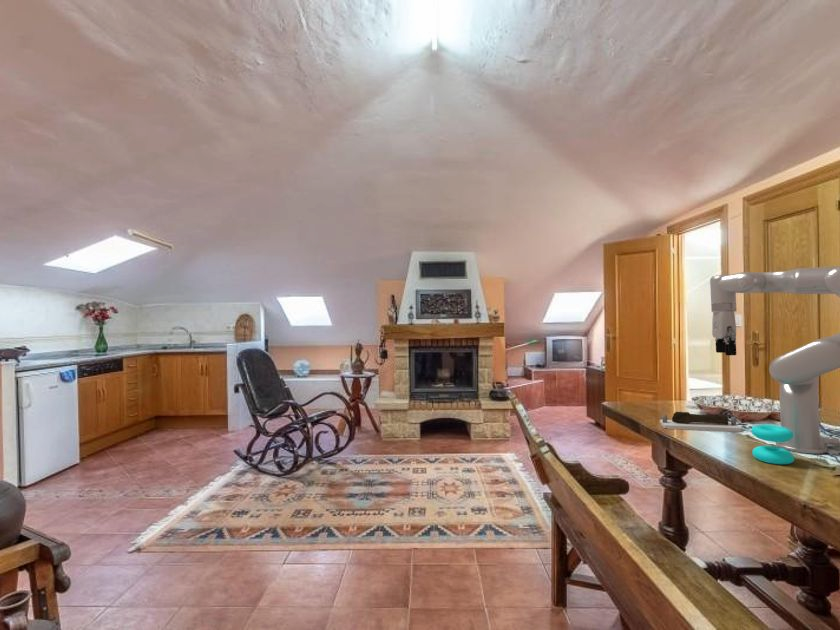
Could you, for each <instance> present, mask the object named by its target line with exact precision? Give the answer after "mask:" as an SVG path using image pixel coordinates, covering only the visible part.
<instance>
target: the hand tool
mask: <svg viewBox="0 0 840 630" xmlns="http://www.w3.org/2000/svg"><path fill="white" fill-rule="evenodd" d="M672 415H673V416H672V417H671V420H672V422H676V423H684V424H689V423H692V422H694V423H695V422H696V423H718V424H726V425H728V422H729V417H728V415H727V414H724V413H723V414H713V413H711V414H700V413H699V414H697V413H690V412H689V411H676V412H674V413H673V414H672Z"/></svg>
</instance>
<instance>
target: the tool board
mask: <svg viewBox="0 0 840 630" xmlns="http://www.w3.org/2000/svg"><path fill="white" fill-rule="evenodd" d="M660 423H661V424H660ZM659 424H660V425H661V426H662V427H663V429H664V428H668V429H667V430H677V429H683V430H682V431H705V432H706V431H707V432H726V433H727V432H728V433H743V428H742V427H740V426H739V425H737V417H736V416H731V417H730V421H728V425H726V424H718V423H696V422H695V423H694V422H692V423H689V424H684V423H676V422H672V419H668V416H667V414H662V419H659Z"/></svg>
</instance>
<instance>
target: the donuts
mask: <svg viewBox="0 0 840 630" xmlns="http://www.w3.org/2000/svg"><path fill="white" fill-rule="evenodd" d="M750 430H751V431H750V432H751V434H752V435H753V436H754V437H756V438H757V439H758V440H759V439H760V440H762V441H766V442H773V443H776V442H786V441H789V440H791V439H792V438H793V433H792V431H791V430H789V429H787V428H784V427H781V425H780V426H779V425H773V424H756V425H754V426H752V427H751V428H750ZM752 456H753V457H754V458H755V459H757V460H759V461H761V462H764V463H767V464H774V465H790V464H793V462H794V461H795V455H794V454H793V453H792V451H790V450H786V449H783V448H780V447H778V446H776V445H775V446H774V445H758V446H755V447H754V448H753V449H752Z"/></svg>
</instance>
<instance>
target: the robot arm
mask: <svg viewBox="0 0 840 630" xmlns="http://www.w3.org/2000/svg"><path fill="white" fill-rule="evenodd" d="M709 287H710V306H711V313H712V324H711V325H712V329H711V331H712V333H711V335H712V337H713V338H715V339H714V340H715V353H720V354H721V353H722V354H723V353H724V354H725V356H737V341H736V340H737V322H736V315H735V312H737V294H762V293H763V294H767V293H771V294H772V293H773V294H774V293H775V294H777V293H778V294H780V293H781V294H782V293H784V294H785V293H786V294H793V295H818V294H819V295H820V294H821V295H826V294H827V295H836V296H837V297H839V298H840V265H839V266H823V267H818V266H817V267H798V268H794V269H791V270H784V271H783V270H782V271H768V272H766V271H764V272H763V271H762V272H760V271H758V272H757V271H756V272H751V271H743V272H741V271H740V272H738V273H732V274H718V275H712V276H711V277H710V279H709ZM837 369H840V332H837V334H834V335H830V336H826V337H822V338H818V339H815V340H813V341H811V342H808V343H806V344H804V345H801V346H800V347H797V348H795V349H792V350H791V351H788V352H786V353H784V354H782V355H779V356H777V357H775V358H774V359H773V360H772V361H771V362H770V364H769V368H768V370H769V371H768V372H769V374H770V376H771V377H772V378H773V380H774V381H776V382H778V383H779V389H778V390H779V393H778V394H779V412H780V414H779V415H780V416H779V417H780V427H784V428H787V429H789V430H791V431H792V433H793V438H792V439H791V440H789V441H786V442H775V446H776V447H780V448H783V449H786V450H788V451H789V452H796V453H800V454H801V453H802V454H813V455H815V454H816V455H818V454H820V455H821V454H825V453H827V452H828V445H832V446H833V445H834V446H840V440H839V438H830V437H827V436H822V435H821V432H820V431H821V430H820V409H819V408H820V407H819V406H820V405H819V403H820V402H819V381H820V380H819V378H820V376H823V375H825V374H827V373H830V372H832V371H836V370H837Z"/></svg>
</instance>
